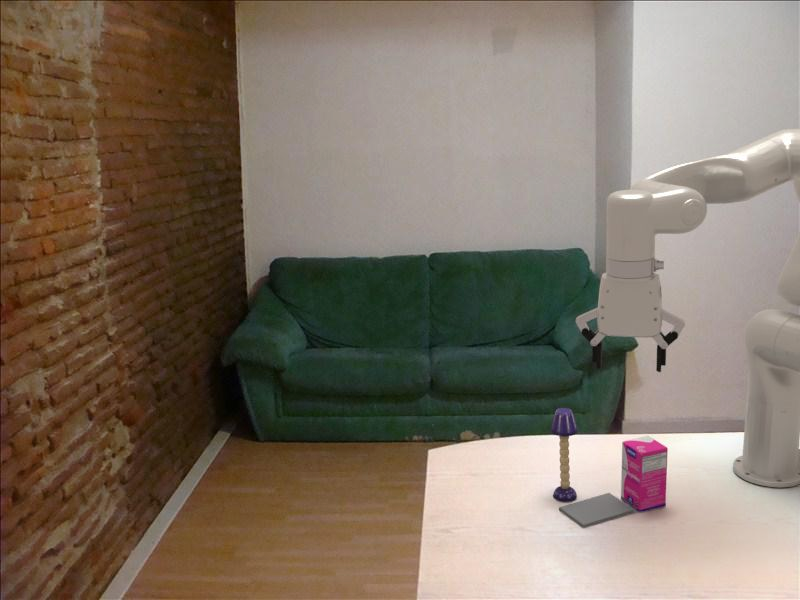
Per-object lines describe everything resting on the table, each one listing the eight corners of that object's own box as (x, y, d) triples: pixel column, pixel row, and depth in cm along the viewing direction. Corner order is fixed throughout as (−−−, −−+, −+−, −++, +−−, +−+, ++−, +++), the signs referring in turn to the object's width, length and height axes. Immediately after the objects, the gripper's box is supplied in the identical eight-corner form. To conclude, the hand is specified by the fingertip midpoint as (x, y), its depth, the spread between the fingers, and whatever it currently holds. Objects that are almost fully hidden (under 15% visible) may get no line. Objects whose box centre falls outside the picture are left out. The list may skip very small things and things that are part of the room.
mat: (609, 495, 158) (609, 492, 158) (634, 512, 152) (635, 509, 152) (559, 510, 154) (559, 507, 153) (583, 528, 147) (583, 524, 147)
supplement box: (619, 499, 157) (621, 440, 154) (646, 492, 159) (649, 434, 156) (638, 513, 152) (640, 453, 149) (667, 506, 153) (669, 446, 151)
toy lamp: (547, 499, 157) (548, 413, 153) (554, 488, 162) (555, 404, 157) (573, 504, 156) (575, 417, 151) (579, 492, 160) (581, 407, 155)
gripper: (686, 263, 141) (683, 362, 146) (578, 261, 146) (578, 357, 151) (686, 274, 134) (683, 378, 139) (573, 272, 139) (573, 372, 144)
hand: (628, 367), depth 145 cm, fingers open, 9 cm apart
